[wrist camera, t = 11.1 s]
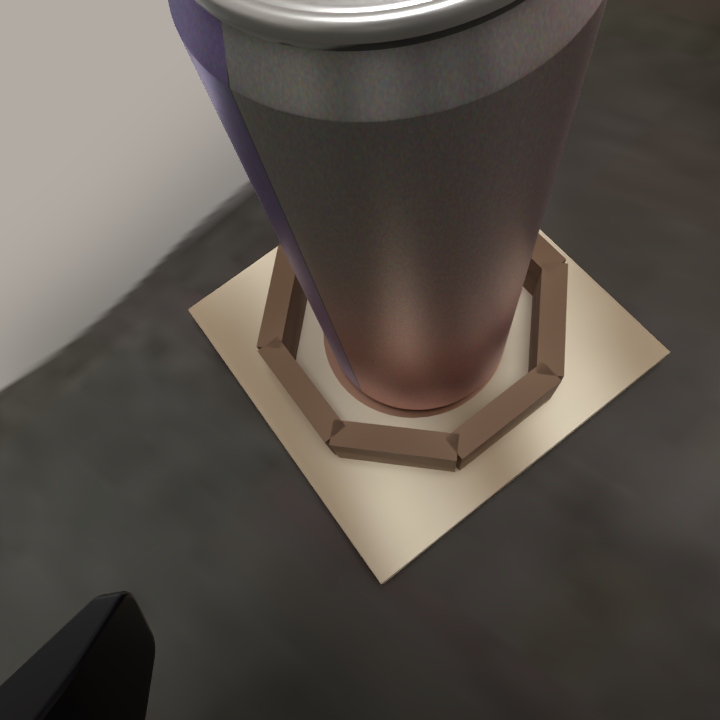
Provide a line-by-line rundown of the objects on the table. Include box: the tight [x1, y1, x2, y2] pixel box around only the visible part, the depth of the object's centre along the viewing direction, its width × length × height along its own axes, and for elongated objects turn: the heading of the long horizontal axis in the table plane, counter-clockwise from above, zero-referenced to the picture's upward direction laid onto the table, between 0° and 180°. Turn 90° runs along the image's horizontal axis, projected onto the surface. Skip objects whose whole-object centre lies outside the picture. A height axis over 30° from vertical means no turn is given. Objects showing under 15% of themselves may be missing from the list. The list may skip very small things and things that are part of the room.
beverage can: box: [168, 0, 607, 410], centre depth 14 cm, size 6×6×15 cm
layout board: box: [188, 230, 670, 584], centre depth 20 cm, size 12×12×3 cm
